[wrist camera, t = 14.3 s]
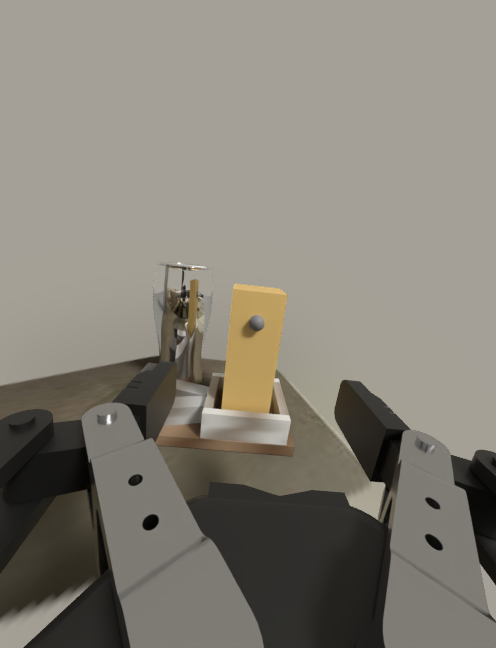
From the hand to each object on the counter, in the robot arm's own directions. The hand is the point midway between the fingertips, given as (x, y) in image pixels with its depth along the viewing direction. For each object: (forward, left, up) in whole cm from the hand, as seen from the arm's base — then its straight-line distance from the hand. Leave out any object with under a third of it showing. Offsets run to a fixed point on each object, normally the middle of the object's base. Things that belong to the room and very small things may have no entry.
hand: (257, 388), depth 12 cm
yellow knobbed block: (0, +11, -9) cm, 15 cm away
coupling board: (-3, +11, -10) cm, 16 cm away
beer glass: (-8, +19, -11) cm, 23 cm away
